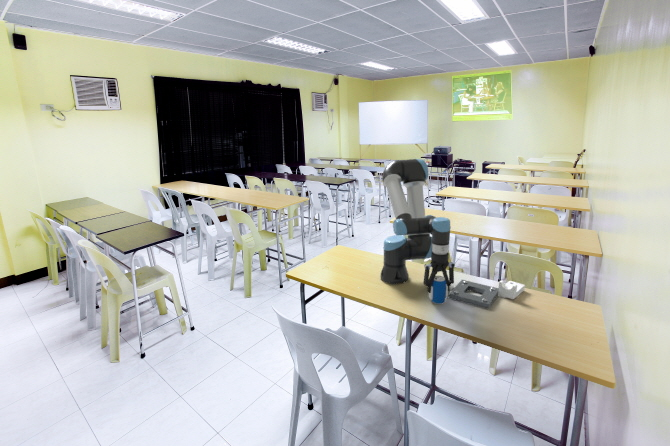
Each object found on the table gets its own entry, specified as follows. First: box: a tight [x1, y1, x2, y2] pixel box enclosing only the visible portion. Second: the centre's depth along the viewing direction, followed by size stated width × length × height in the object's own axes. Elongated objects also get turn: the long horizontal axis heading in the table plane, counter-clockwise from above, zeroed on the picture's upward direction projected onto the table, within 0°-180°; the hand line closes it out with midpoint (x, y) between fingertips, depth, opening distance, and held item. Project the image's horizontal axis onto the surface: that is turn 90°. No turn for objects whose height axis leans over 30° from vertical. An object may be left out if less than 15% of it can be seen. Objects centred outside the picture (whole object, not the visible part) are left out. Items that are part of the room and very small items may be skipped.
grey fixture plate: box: [448, 279, 499, 310], centre depth 164 cm, size 18×18×3 cm
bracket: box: [497, 279, 526, 300], centre depth 164 cm, size 13×7×8 cm, turn 132°
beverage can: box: [430, 275, 446, 305], centre depth 159 cm, size 6×6×12 cm
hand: (437, 297), depth 160 cm, fingers closed on beverage can, 6 cm apart
